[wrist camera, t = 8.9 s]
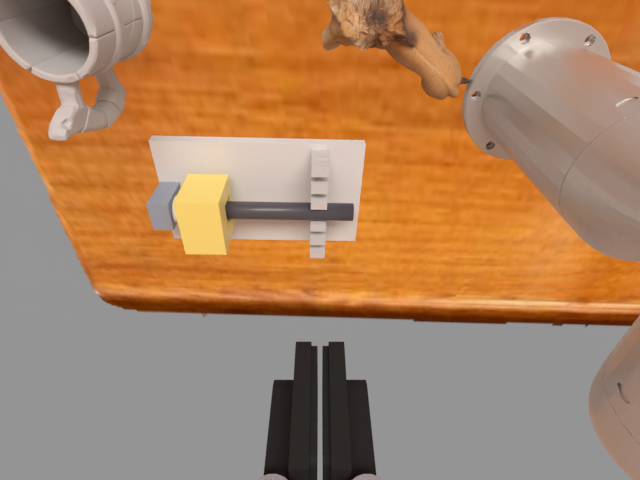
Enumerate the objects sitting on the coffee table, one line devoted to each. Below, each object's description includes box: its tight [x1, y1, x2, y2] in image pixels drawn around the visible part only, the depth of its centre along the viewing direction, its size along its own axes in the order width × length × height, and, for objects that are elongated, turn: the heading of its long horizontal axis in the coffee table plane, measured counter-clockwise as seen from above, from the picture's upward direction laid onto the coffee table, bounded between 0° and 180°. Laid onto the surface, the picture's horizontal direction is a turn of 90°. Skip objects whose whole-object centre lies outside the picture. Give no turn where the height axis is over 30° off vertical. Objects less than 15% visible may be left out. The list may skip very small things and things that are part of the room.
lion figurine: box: [322, 0, 470, 100], centre depth 30 cm, size 15×5×9 cm, turn 62°
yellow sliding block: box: [173, 174, 235, 255], centre depth 38 cm, size 4×6×5 cm, turn 178°
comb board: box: [146, 136, 366, 258], centre depth 40 cm, size 21×12×6 cm, turn 88°
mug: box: [0, 0, 153, 141], centre depth 28 cm, size 8×12×12 cm, turn 175°
